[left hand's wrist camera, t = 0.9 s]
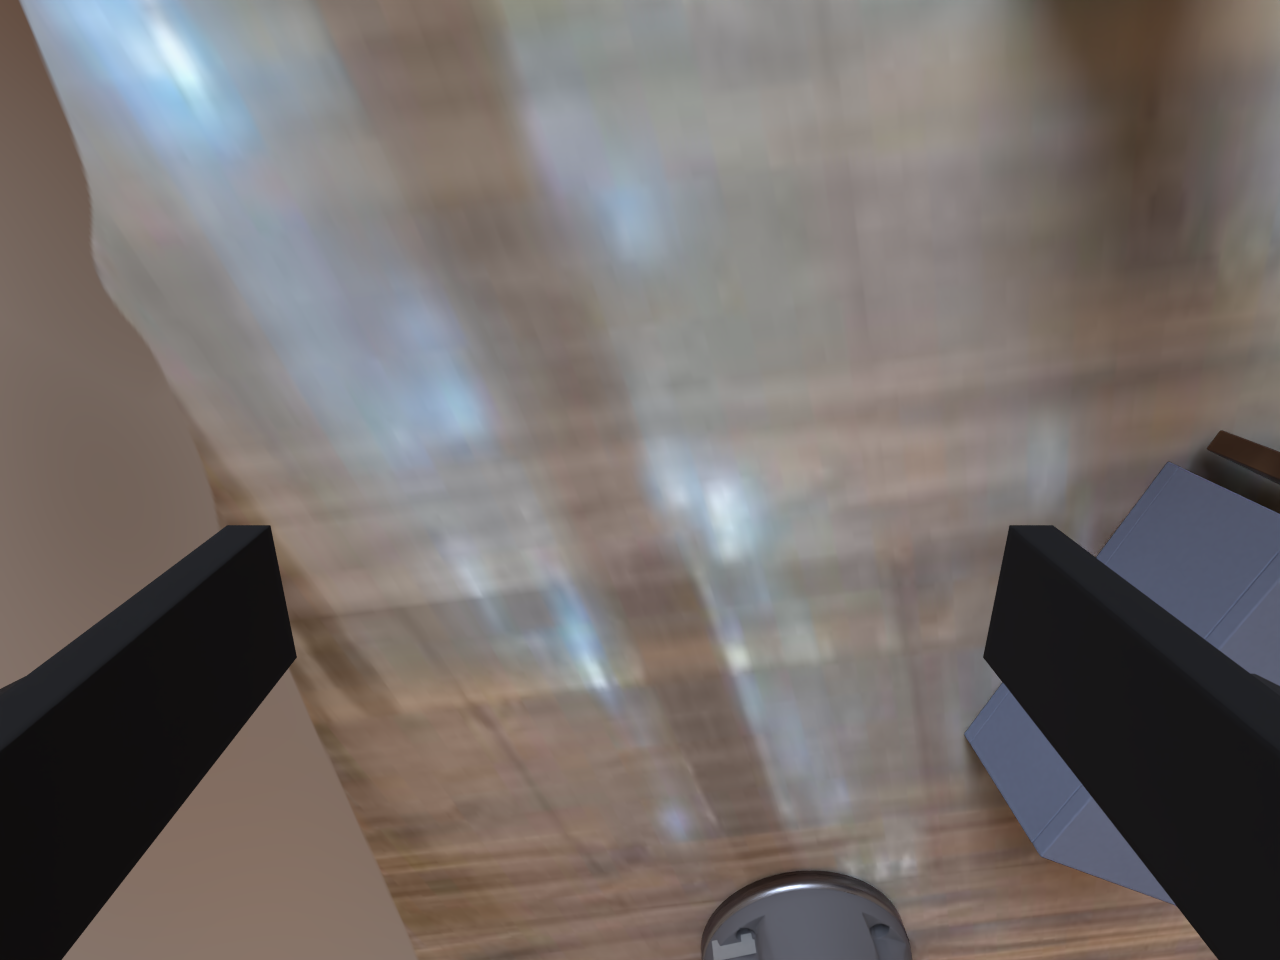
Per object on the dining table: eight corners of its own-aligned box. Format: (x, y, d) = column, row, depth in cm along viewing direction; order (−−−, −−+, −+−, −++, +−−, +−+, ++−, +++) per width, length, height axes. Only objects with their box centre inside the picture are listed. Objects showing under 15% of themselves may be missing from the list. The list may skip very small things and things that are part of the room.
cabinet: (1167, 461, 40) (1319, 532, 31) (1307, 527, 41) (1490, 613, 32) (963, 734, 47) (1039, 857, 38) (1090, 782, 48) (1192, 912, 39)
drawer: (1290, 337, 36) (1447, 368, 29) (1420, 405, 38) (1601, 450, 31) (1011, 703, 44) (1082, 796, 37) (1126, 748, 46) (1216, 847, 39)
